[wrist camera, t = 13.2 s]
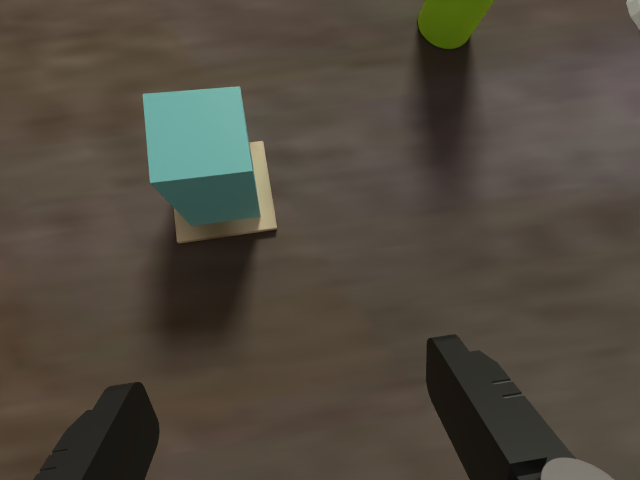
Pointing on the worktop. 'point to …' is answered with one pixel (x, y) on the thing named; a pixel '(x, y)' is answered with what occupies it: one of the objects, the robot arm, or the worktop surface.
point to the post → (241, 226)
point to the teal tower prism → (201, 154)
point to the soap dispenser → (451, 20)
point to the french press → (634, 11)
